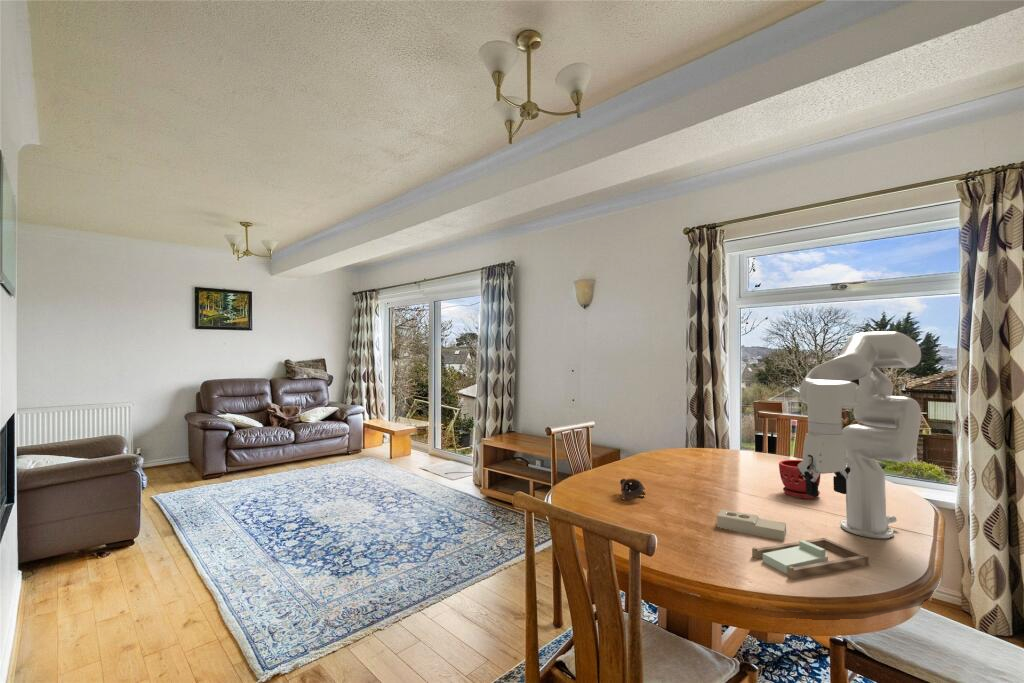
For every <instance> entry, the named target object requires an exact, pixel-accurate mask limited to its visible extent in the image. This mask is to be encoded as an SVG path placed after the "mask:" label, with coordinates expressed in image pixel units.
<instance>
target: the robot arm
mask: <svg viewBox="0 0 1024 683" xmlns="http://www.w3.org/2000/svg"><path fill="white" fill-rule="evenodd" d="M921 359H922V351H921V348H920V346H919V344H918V342H916V341H915V340H914V339H912V338H911V337H910V336H908V335H906V334H904V333H902V332H899V331H894V330H893V331H892V330H891V331H866V332H863V331H862V332H858V333H855V334H853V335H851V336H850V337H849V338H848V340H847V341H846V343H845V344H844V346H843V347H842V349H841V351H840V353H838V356H837V357H835V358H831V359H829V360H827V361H825V362H822V363H821V364H818V365H815V366H814V367H813V368H811V369H810V370H809V371H808V372H807V373H806V375H805V376H804V378H803V380H802V381H801V384H800V386H799V392H798V393H799V397H800V400H801V402H803V403H804V404H806V405H807V433H805V436H804V441H803V450H802V451H803V452H802V460H803V461H802V462H800V463H799V464H798V468H799V470H800V471H801V472H800V473H801V475H802V476H803V478H804V479H805V482H806V494H807V495H810V496H813V497H816V498H818V497H819V496H818V491H819V486H818V482H816V480H817V478H818V476H819V474H820V475H821V474H822V475H825V474H832V473H833V474H834V475H833V479H832V480H833V491H834V492H837V493H840V494H842V495H845V507H846V508H845V512H846V514H845V515H846V517H845V518H846V519H843V520H841V521H840V527H841V528H842V529H843V530H844V531H847V532H849V533H851V534H854V535H858V536H861V537H865V538H871V539H880V540H881V539H890V537H891V538H892V537H894V530H893V529H892V528H891V527H889V524H892V523H896V522H897V517H896V516H895V515H887V500H886V499H887V498H886V496H887V495H886V474H885V472H884V469H883V468H882V466H881V465H880V464H879V462H878V461H877V460H882V461H889V462H895V463H897V462H898V463H909V462H912V461H913V460H914V458H915V455H916V452H917V446H918V441H919V435H920V429H921V422H922V410H921V406H920V404H919V403H918V401H917V400H916V399H914V398H911V397H907V396H899V395H893V392H894V384H893V382H892V380H891V379H890V378H889V377H888V376H887V375H886V374H885V373H883V372H882V371H881V370H880V369H879V368H889V369H890V368H892V369H895V368H896V369H899V368H900V369H911V368H915V367H916V366H918V365H919V363H920V362H921ZM855 380H856V381H857V380H858V383H856V382H853V381H855ZM843 409H853V418H854V420H855V421H856V422H858V423H859V424H849V425H847V426H845V427H843V412H842V410H843ZM811 473H814V474H813V475H811Z"/></svg>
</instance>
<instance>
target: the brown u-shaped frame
mask: <svg viewBox="0 0 1024 683" xmlns="http://www.w3.org/2000/svg"><path fill="white" fill-rule="evenodd" d="M805 541H807V542H809V543H812V544H814V545H816V546H818V547H821V548H823V549H827V550H830V551H832V552H834V553H837V554H839V555H841V556H843V558H837V559H833V560H828V561H827V562H821V563H815V564H810V565H804V566H799V567H791V566H790V567H788V574H787V577H788V578H789V579H791V580H795V579H801V578H806V577H811V576H816V575H822V574H826V573H832V572H837V571H838V572H839V571H844V570H848V569H854V568H859V567H864V566H868V565H870V562H869V561H870V560H869V556H868V555H865V554H863V553H861V552H859V551H856V550H853V549H851V548H848V547H846V546H845V545H842V544H840V543H838V542H835V541H832V540H830V539H827V538H826V537H819V538H814V539H807V540H805ZM797 546H799V541H795V542H789V543H783V544H776V545H770V546H764V547H755V546H754V547H752V548H751V556H752V558H754V559H755V560H756V559H763V553H767V552H772V551H777V550H782V549H787V548H792V547H797Z"/></svg>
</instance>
